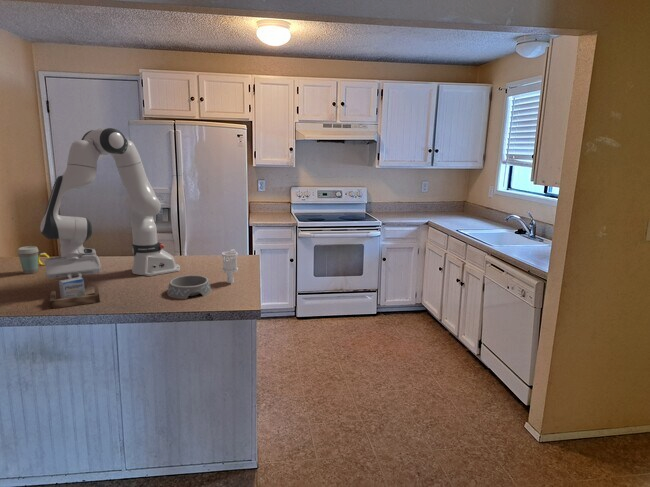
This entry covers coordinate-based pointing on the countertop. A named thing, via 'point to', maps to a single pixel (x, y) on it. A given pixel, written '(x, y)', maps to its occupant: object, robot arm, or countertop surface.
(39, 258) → the watch
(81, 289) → the medicine box
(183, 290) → the dog bowl
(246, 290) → the countertop surface
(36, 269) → the coffee cup
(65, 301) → the brown u-shaped frame
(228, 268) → the white stemmed cylinder
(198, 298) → the countertop surface
